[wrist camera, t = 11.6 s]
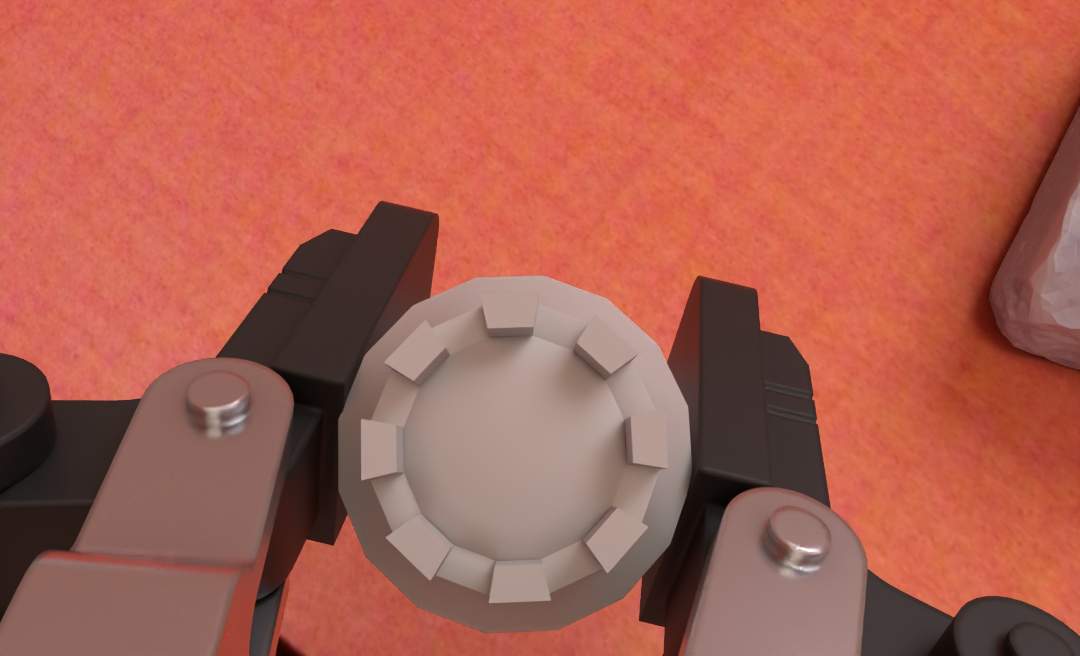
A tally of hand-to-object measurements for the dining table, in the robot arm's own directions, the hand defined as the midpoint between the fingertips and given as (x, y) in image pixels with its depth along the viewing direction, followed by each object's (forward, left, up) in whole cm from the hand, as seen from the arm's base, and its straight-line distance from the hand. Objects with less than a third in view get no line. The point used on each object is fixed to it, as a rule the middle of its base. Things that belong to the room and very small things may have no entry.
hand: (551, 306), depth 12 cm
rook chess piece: (-1, -2, -4) cm, 5 cm away
